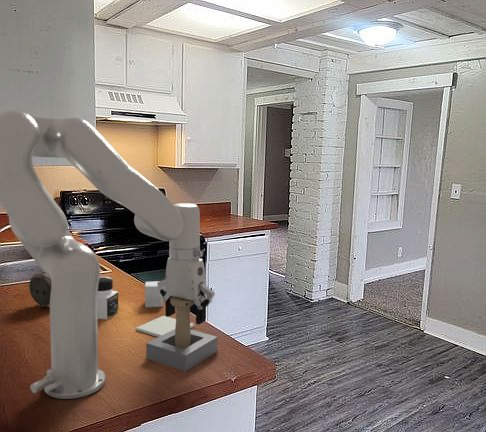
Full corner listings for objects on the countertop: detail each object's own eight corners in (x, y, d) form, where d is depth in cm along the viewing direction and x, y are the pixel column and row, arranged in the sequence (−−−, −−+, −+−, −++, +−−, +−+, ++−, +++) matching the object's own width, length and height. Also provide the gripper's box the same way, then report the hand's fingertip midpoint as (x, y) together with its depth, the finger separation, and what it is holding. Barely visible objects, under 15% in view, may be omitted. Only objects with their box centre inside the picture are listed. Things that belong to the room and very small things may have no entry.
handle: (167, 353, 115) (167, 297, 113) (190, 348, 118) (191, 294, 116) (174, 361, 111) (174, 302, 109) (197, 356, 114) (198, 299, 112)
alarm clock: (64, 308, 146) (63, 259, 143) (51, 313, 141) (49, 263, 139) (40, 302, 150) (38, 255, 148) (26, 307, 145) (24, 258, 143)
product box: (163, 307, 150) (163, 286, 149) (144, 308, 148) (144, 286, 147) (162, 301, 156) (163, 280, 155) (145, 302, 154) (145, 281, 153)
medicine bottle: (107, 320, 136) (107, 282, 135) (86, 318, 138) (85, 280, 136) (118, 312, 143) (118, 276, 142) (98, 310, 145) (97, 274, 143)
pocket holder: (185, 371, 106) (185, 355, 105) (146, 358, 112) (146, 343, 111) (217, 351, 117) (217, 336, 117) (179, 340, 123) (180, 326, 123)
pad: (168, 339, 123) (168, 337, 123) (135, 330, 129) (135, 327, 129) (194, 326, 134) (194, 323, 134) (163, 318, 140) (163, 315, 140)
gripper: (222, 254, 110) (221, 321, 113) (167, 246, 119) (168, 308, 121) (204, 261, 104) (204, 331, 106) (148, 251, 112) (149, 316, 115)
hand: (185, 318), depth 114 cm, fingers open, 9 cm apart
